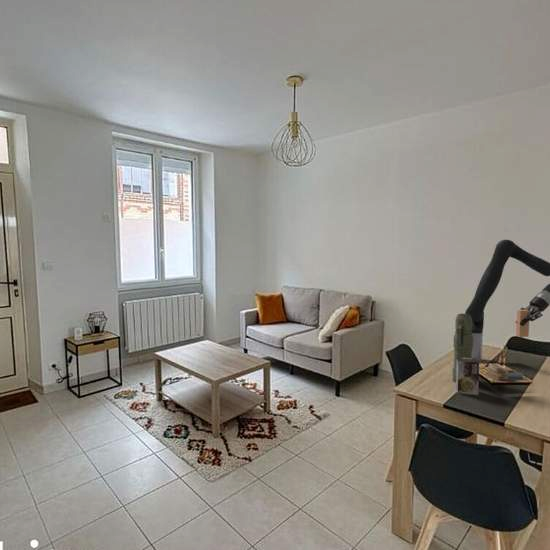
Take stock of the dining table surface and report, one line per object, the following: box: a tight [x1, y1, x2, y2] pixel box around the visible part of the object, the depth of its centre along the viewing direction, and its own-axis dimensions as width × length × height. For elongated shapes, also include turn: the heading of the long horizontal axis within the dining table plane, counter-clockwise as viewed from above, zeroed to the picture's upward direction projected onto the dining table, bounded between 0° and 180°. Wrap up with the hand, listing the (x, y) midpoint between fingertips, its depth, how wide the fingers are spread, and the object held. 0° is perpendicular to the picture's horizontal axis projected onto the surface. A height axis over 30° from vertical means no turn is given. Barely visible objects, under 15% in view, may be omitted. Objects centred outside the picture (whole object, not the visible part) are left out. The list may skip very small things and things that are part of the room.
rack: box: [484, 369, 529, 382], centre depth 190 cm, size 16×11×4 cm
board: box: [515, 309, 530, 338], centre depth 193 cm, size 5×2×14 cm, turn 93°
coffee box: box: [455, 357, 480, 396], centre depth 174 cm, size 9×6×16 cm
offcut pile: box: [486, 362, 509, 381], centre depth 189 cm, size 6×9×6 cm, turn 3°
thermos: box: [452, 313, 473, 383], centre depth 187 cm, size 9×12×35 cm
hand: (519, 324), depth 193 cm, fingers closed on board, 2 cm apart
